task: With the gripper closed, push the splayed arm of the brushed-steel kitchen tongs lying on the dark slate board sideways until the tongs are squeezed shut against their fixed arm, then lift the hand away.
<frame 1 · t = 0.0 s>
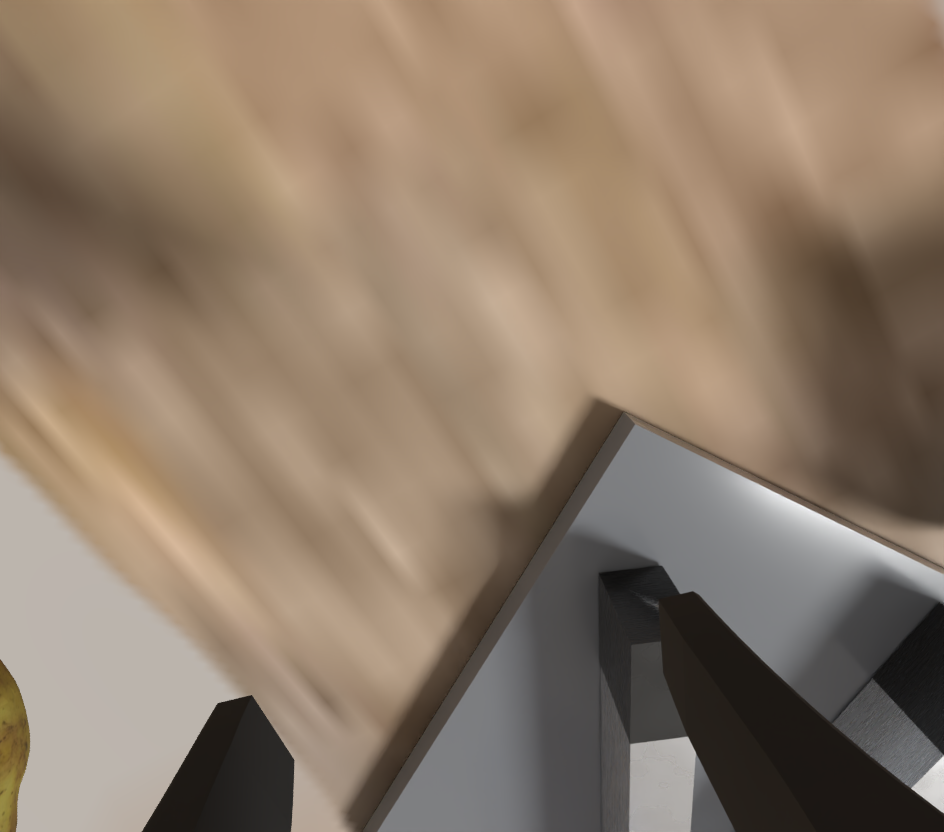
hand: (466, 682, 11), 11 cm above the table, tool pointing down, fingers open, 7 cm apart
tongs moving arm: (643, 796, 23), point 3 cm above the table, hinge at 32.0°
slate board: (665, 727, 26), on the table
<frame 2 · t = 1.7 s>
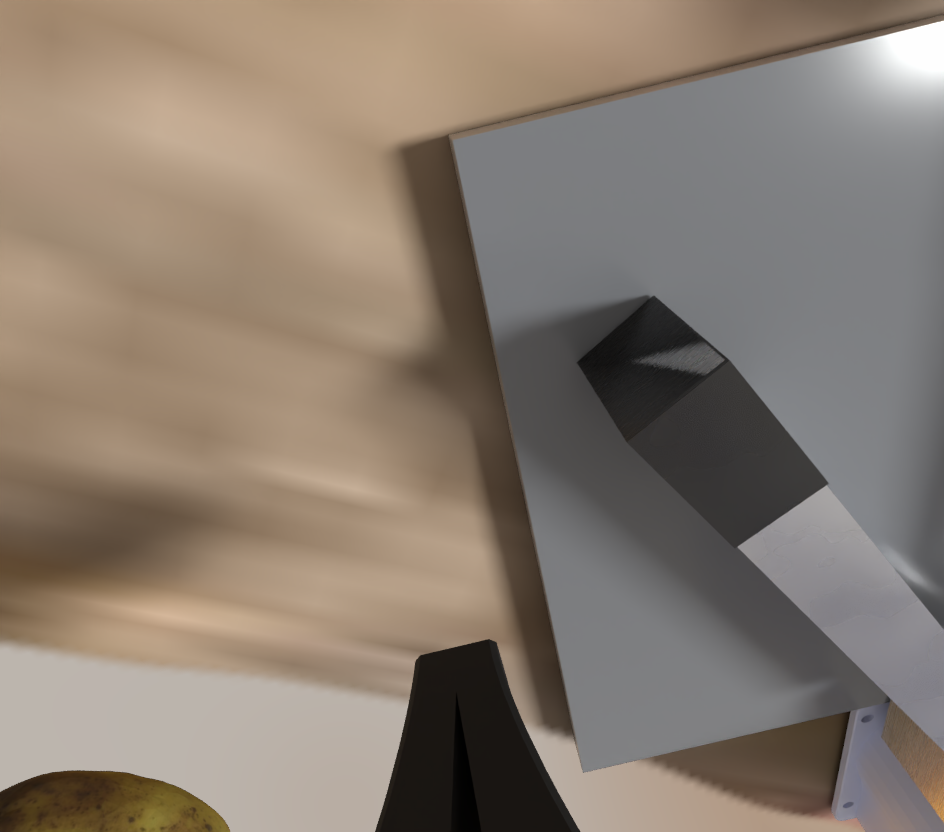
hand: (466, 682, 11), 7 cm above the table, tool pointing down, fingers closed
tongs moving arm: (830, 569, 16), point 3 cm above the table, hinge at 32.0°
potato: (173, 814, 24), on the table
slate board: (831, 463, 18), on the table
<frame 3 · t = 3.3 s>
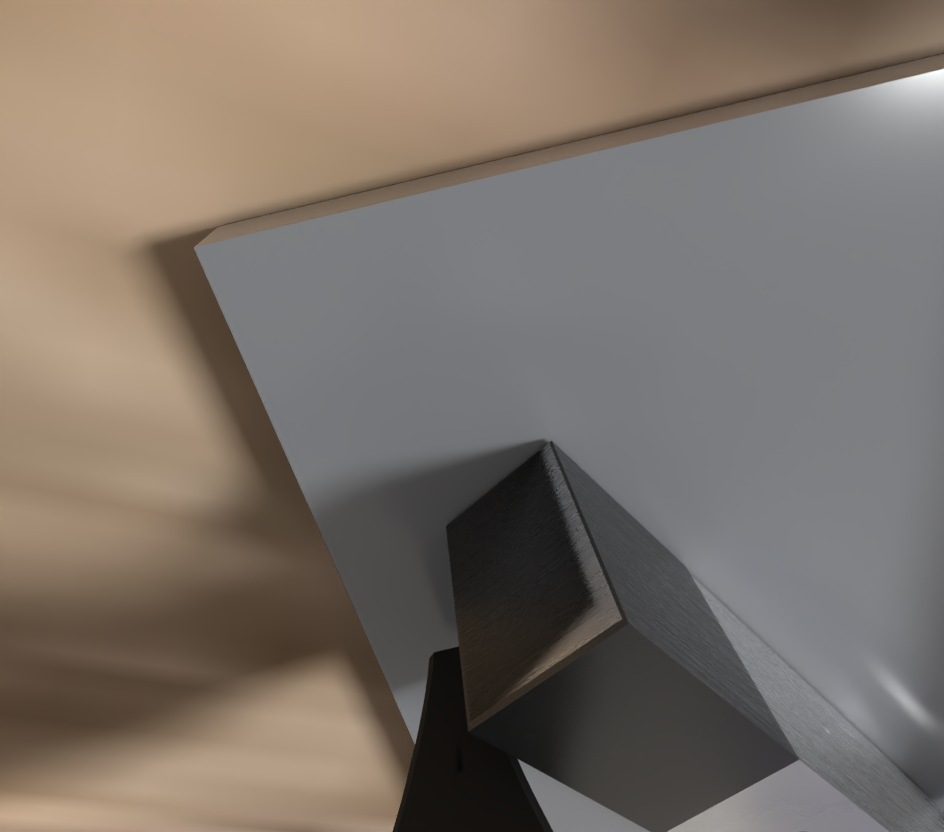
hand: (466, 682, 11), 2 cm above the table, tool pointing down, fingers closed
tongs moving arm: (807, 786, 12), point 3 cm above the table, hinge at 31.2°, touching gripper
slate board: (807, 617, 14), on the table
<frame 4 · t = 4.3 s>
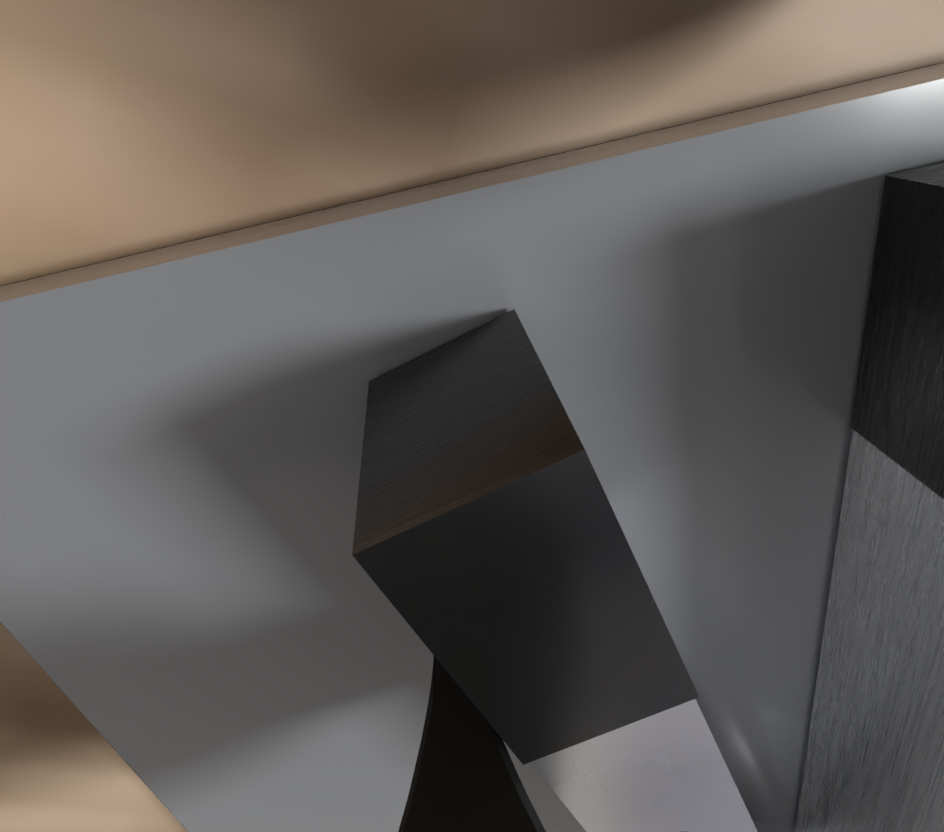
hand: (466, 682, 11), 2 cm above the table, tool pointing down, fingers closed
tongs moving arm: (665, 775, 11), point 3 cm above the table, hinge at 14.0°, touching gripper
slate board: (572, 673, 14), on the table
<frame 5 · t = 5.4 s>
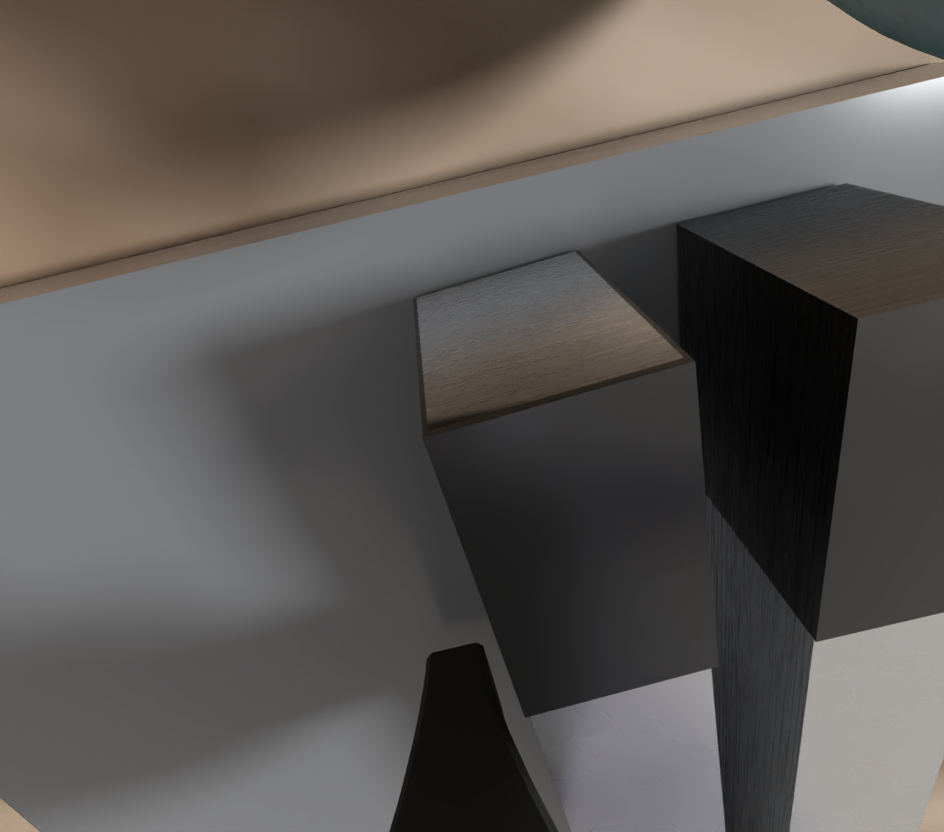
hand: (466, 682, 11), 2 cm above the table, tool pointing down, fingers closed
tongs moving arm: (624, 767, 11), point 3 cm above the table, hinge at 3.0°, touching gripper
slate board: (459, 699, 14), on the table
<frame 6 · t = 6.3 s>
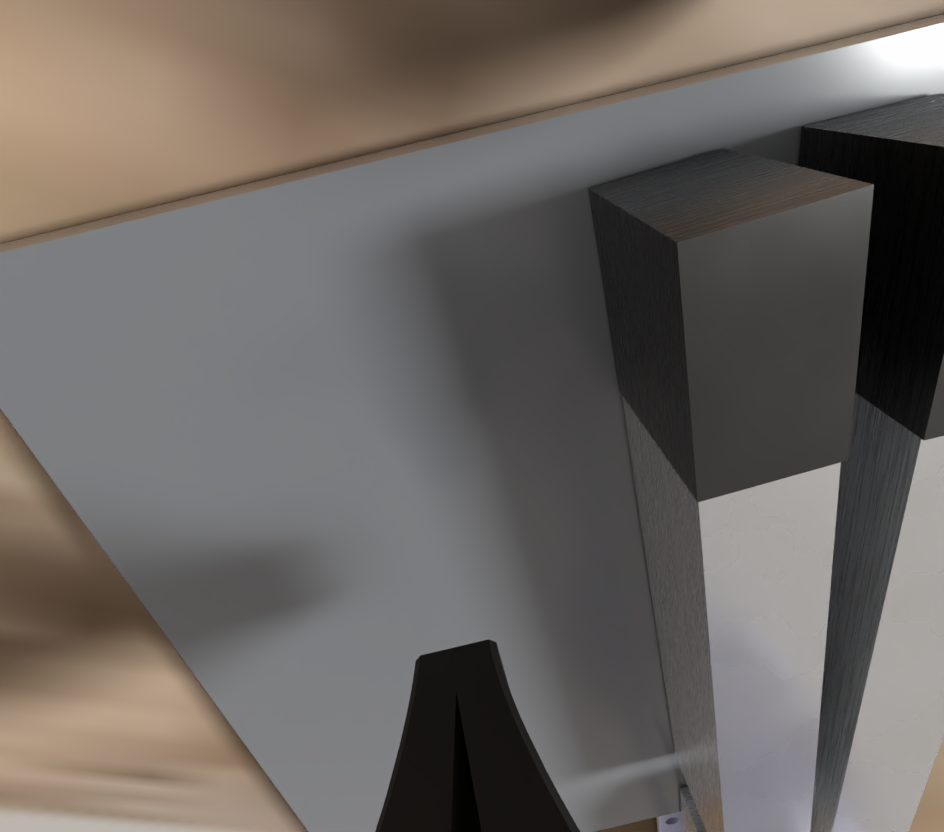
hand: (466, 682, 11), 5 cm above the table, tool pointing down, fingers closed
tongs fixed: (747, 766, 20), resting on slate board
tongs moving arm: (726, 607, 13), point 3 cm above the table, hinge at 3.0°
slate board: (559, 580, 16), on the table
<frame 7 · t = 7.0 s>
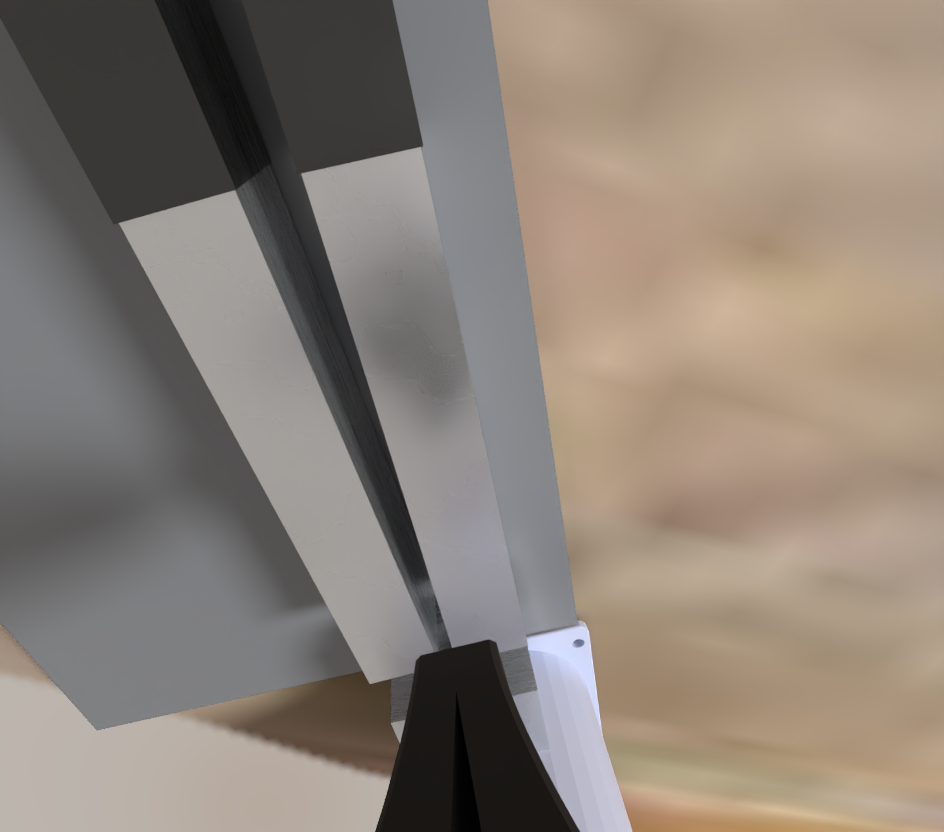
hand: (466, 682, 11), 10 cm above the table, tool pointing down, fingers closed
tongs fixed: (453, 613, 22), resting on slate board
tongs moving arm: (297, 395, 15), point 3 cm above the table, hinge at 3.0°
slate board: (226, 410, 18), on the table
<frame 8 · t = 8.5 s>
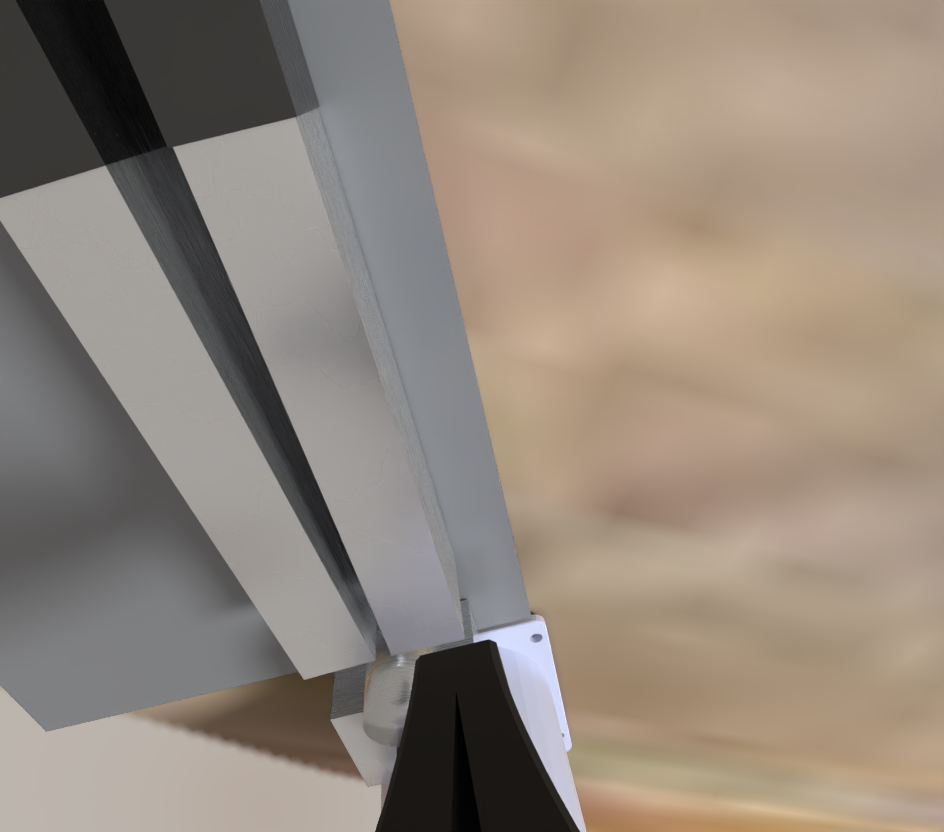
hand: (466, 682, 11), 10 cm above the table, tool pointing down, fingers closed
tongs fixed: (402, 608, 22), resting on slate board
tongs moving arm: (208, 383, 14), point 3 cm above the table, hinge at 3.0°
slate board: (155, 402, 18), on the table
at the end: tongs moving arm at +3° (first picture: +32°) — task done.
